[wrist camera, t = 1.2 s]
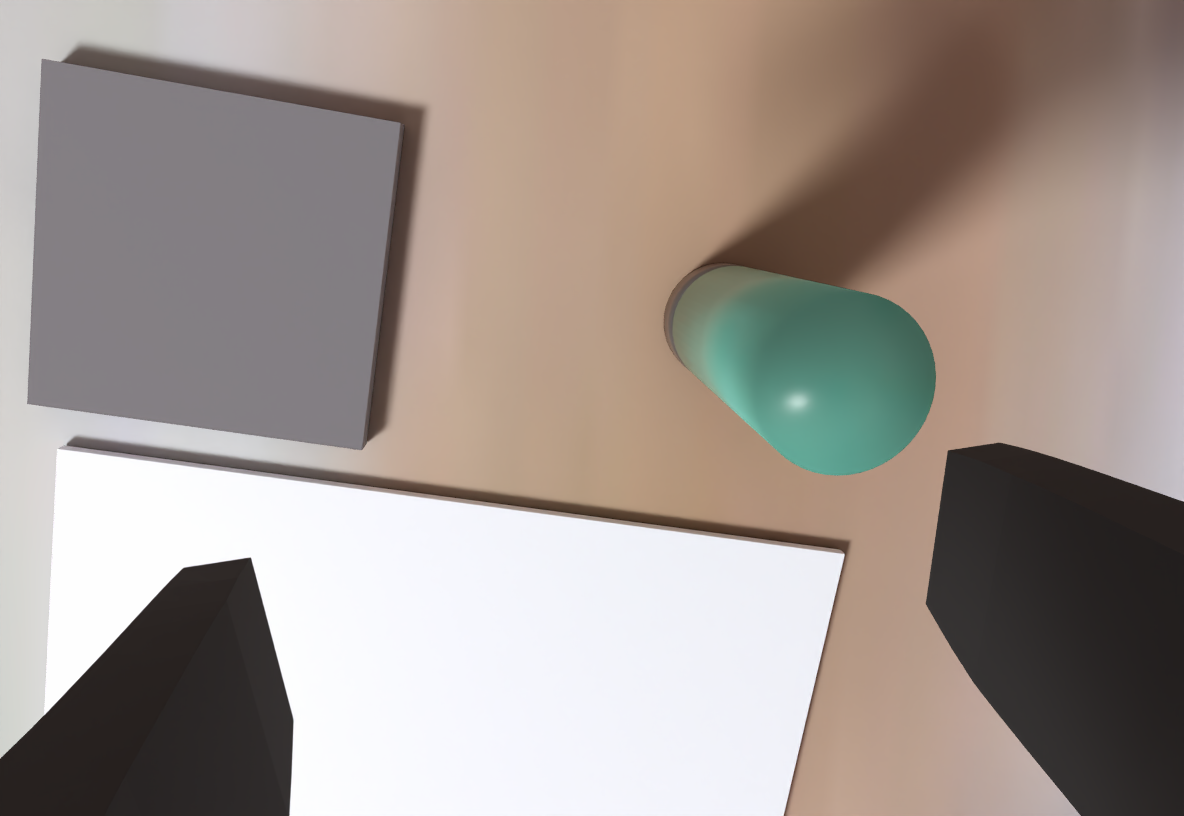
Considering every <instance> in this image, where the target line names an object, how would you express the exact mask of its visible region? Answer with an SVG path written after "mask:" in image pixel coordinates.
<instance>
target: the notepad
mask: <svg viewBox="0 0 1184 816" xmlns="http://www.w3.org/2000/svg"><path fill="white" fill-rule="evenodd" d="M844 556H845V554H844V553H843V552H842V551H841V550H839V549H832V548H824V547H817V546H810V545H802V544H795V543H787V542H780V541H772V540H765V539H757V538H750V537H743V536H735V535H728V534H720V533H713V532H705V531H698V530H690V529H683V528H676V527H668V526H661V525H653V524H646V523H638V522H631V521H623V520H616V519H609V518H601V517H594V516H586V515H579V514H571V513H564V512H556V511H549V510H541V509H534V508H527V507H519V506H512V505H504V504H497V503H489V502H482V501H474V500H467V499H460V498H452V497H445V496H437V495H430V494H422V493H415V492H407V491H400V490H393V489H385V488H378V487H370V486H363V485H355V484H348V483H340V482H333V481H326V480H318V479H311V478H303V477H296V476H288V475H281V474H273V473H266V472H259V471H251V470H244V469H236V468H229V467H221V466H214V465H206V464H199V463H191V462H184V461H177V460H169V459H162V458H154V457H147V456H139V455H132V454H124V453H117V452H110V451H102V450H95V449H87V448H80V447H72V446H65V445H64V446H62V447H60V448H58V449H57V464H56V484H55V504H54V525H53V545H52V566H51V586H50V607H49V627H48V648H47V668H46V689H45V709H44V715H45V714H46V713H47V712H48V711H49V710H50V709H51V708H52V706H53V705H54V704H55V703H56V702H57V701H58V700H59V699H60V698H61V697H62V696H63V695H64V694H65V693H66V692H67V691H68V690H69V689H70V688H71V686H72V685H73V684H74V683H75V682H76V681H77V680H78V679H79V678H80V677H81V676H82V675H83V674H84V673H85V672H86V671H87V670H88V669H89V667H90V666H91V665H92V664H93V663H94V662H95V661H96V660H97V659H98V658H99V657H100V656H101V655H102V654H103V653H104V652H105V651H106V649H107V648H108V647H109V646H110V645H111V644H112V643H113V642H114V641H115V640H116V639H117V638H118V636H119V635H120V634H121V633H122V632H123V631H124V630H125V629H126V628H127V627H128V626H129V624H130V623H131V622H132V621H133V620H134V619H135V618H136V617H137V616H138V615H139V614H140V612H141V611H142V610H143V609H144V608H145V607H146V606H147V605H148V604H149V603H150V602H151V601H152V599H153V598H154V597H155V596H156V595H157V594H158V593H159V592H160V591H161V590H162V589H163V588H164V587H165V586H166V585H167V584H168V582H169V581H170V580H171V579H172V578H173V577H174V576H175V575H176V574H177V573H178V572H179V571H180V570H182V569H183V568H184V567H191V566H197V565H204V564H210V563H217V562H223V561H230V560H236V559H243V558H250V557H251V559H252V563H253V567H254V571H255V574H256V578H257V582H258V586H259V590H260V593H261V597H262V601H263V605H264V609H265V612H266V616H267V620H268V624H269V628H270V632H271V635H272V639H273V643H274V647H275V651H276V654H277V658H278V662H279V666H280V670H281V673H282V677H283V681H284V685H285V689H286V692H287V696H288V700H289V704H290V708H291V711H292V715H293V719H294V725H293V753H292V779H291V797H290V815H289V816H784V812H785V807H786V803H787V799H788V794H789V790H790V786H791V782H792V777H793V773H794V769H795V765H796V760H797V756H798V752H799V748H800V743H801V739H802V735H803V730H804V726H805V722H806V718H807V713H808V709H809V705H810V701H811V696H812V692H813V688H814V684H815V679H816V675H817V671H818V667H819V662H820V658H821V654H822V649H823V645H824V641H825V637H826V632H827V628H828V624H829V620H830V615H831V611H832V607H833V603H834V598H835V594H836V590H837V585H838V581H839V577H840V573H841V568H842V564H843V560H844Z"/></svg>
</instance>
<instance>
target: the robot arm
mask: <svg viewBox="0 0 1184 816" xmlns="http://www.w3.org/2000/svg"><path fill="white" fill-rule="evenodd" d="M926 605H927V607H928V609H929V610H930V612H931V614H932V615H933V617H934V619H935V621H936V622H937V624H938V626H939V628H940V629H941V631H942V633H943V634H944V636H945V638H946V640H947V641H948V643H949V645H950V646H951V648H952V650H953V651H954V653H955V654H956V656H957V657H958V659H959V661H960V662H961V664H962V665H963V667H964V668H965V670H966V672H967V673H968V675H969V676H970V678H971V679H972V681H973V683H974V684H975V685H976V686H977V688H978V689H979V690H980V692H981V693H982V694H983V695H984V697H985V698H986V699H987V701H988V702H989V703H990V704H991V706H992V707H993V708H994V709H995V711H996V712H997V713H998V714H999V716H1000V717H1001V718H1002V719H1003V721H1004V722H1005V723H1006V724H1007V726H1008V727H1009V728H1010V729H1011V731H1012V732H1013V733H1014V734H1015V736H1016V737H1017V738H1018V739H1019V741H1020V742H1021V743H1022V744H1023V746H1024V747H1025V748H1026V749H1027V750H1028V752H1029V753H1030V754H1031V755H1032V757H1033V758H1034V759H1035V760H1036V761H1037V763H1038V764H1039V765H1040V766H1041V767H1042V769H1043V770H1044V771H1045V772H1046V774H1047V775H1048V776H1049V777H1050V778H1051V780H1052V781H1053V782H1054V783H1055V785H1056V786H1057V787H1058V788H1059V789H1060V791H1061V792H1062V793H1063V794H1064V796H1065V797H1066V798H1067V799H1068V800H1069V802H1070V803H1071V804H1072V805H1073V807H1074V808H1075V809H1076V810H1077V811H1078V813H1079V814H1080V815H1081V816H1184V502H1183V501H1180V500H1177V499H1174V498H1171V497H1168V496H1165V495H1163V494H1160V493H1157V492H1154V491H1151V490H1148V489H1146V488H1143V487H1140V486H1137V485H1134V484H1131V483H1128V482H1125V481H1123V480H1120V479H1117V478H1114V477H1111V476H1108V475H1105V474H1103V473H1100V472H1097V471H1094V470H1091V469H1088V468H1085V467H1082V466H1079V465H1076V464H1073V463H1070V462H1067V461H1064V460H1061V459H1058V458H1054V457H1051V456H1048V455H1045V454H1041V453H1038V452H1035V451H1031V450H1027V449H1024V448H1020V447H1016V446H1012V445H1007V444H1003V443H994V444H988V445H981V446H975V447H968V448H962V449H955V450H948V454H947V461H946V468H945V475H944V482H943V489H942V496H941V502H940V509H939V516H938V523H937V530H936V537H935V544H934V551H933V558H932V565H931V572H930V579H929V586H928V593H927V600H926ZM293 725H294V719H293V715H292V711H291V708H290V704H289V700H288V696H287V692H286V689H285V685H284V681H283V677H282V673H281V670H280V666H279V662H278V658H277V654H276V651H275V647H274V643H273V639H272V635H271V632H270V628H269V624H268V620H267V616H266V612H265V609H264V605H263V601H262V597H261V593H260V590H259V586H258V582H257V578H256V574H255V571H254V567H253V563H252V559H251V557H250V558H243V559H236V560H230V561H223V562H217V563H210V564H204V565H197V566H191V567H184V568H183V569H182V570H180V571H179V572H178V573H177V574H176V575H175V576H174V577H173V578H172V579H171V580H170V581H169V582H168V584H167V585H166V586H165V587H164V588H163V589H162V590H161V591H160V592H159V593H158V594H157V595H156V596H155V597H154V598H153V599H152V601H151V602H150V603H149V604H148V605H147V606H146V607H145V608H144V609H143V610H142V611H141V612H140V614H139V615H138V616H137V617H136V618H135V619H134V620H133V621H132V622H131V623H130V624H129V626H128V627H127V628H126V629H125V630H124V631H123V632H122V633H121V634H120V635H119V636H118V638H117V639H116V640H115V641H114V642H113V643H112V644H111V645H110V646H109V647H108V648H107V649H106V651H105V652H104V653H103V654H102V655H101V656H100V657H99V658H98V659H97V660H96V661H95V662H94V663H93V664H92V665H91V666H90V667H89V669H88V670H87V671H86V672H85V673H84V674H83V675H82V676H81V677H80V678H79V679H78V680H77V681H76V682H75V683H74V684H73V685H72V686H71V688H70V689H69V690H68V691H67V692H66V693H65V694H64V695H63V696H62V697H61V698H60V699H59V700H58V701H57V702H56V703H55V704H54V705H53V706H52V708H51V709H50V710H49V711H48V712H47V713H46V714H45V715H44V716H43V717H42V718H41V719H40V720H39V721H38V722H37V723H36V724H35V725H34V726H33V727H32V728H31V729H30V730H29V731H28V732H27V733H26V734H25V735H24V736H23V737H22V738H21V739H20V740H19V741H18V742H17V743H16V744H15V745H14V746H13V747H12V748H11V749H10V750H9V751H8V752H7V753H6V754H5V755H4V756H3V757H1V758H0V816H289V815H290V797H291V779H292V753H293Z"/></svg>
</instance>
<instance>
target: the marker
mask: <svg viewBox="0 0 1184 816" xmlns="http://www.w3.org/2000/svg"><path fill="white" fill-rule="evenodd" d="M664 331H665V336H666V340H667V343H668V345H669V347H670V349H671V351H672V352H673V354H674V355H675V357H676V358H677V359H678V360H679V361H680V362H681V363H682V364H683V365H684V366H685V367H686V368H687V369H688V370H690V371H691V372H692V373H693V374H694V375H695V376H696V377H697V378H698V379H699V380H700V381H702V382H703V383H704V384H705V385H706V386H707V387H708V388H709V389H710V390H711V391H713V392H714V393H715V394H716V395H717V396H718V397H719V398H720V399H721V400H722V401H723V402H725V403H726V404H727V405H728V406H729V407H730V408H731V409H732V410H733V411H734V412H735V413H737V414H738V415H739V416H740V417H741V418H742V419H743V420H744V421H745V422H746V423H748V424H749V425H750V426H751V427H752V428H753V429H754V430H755V431H756V432H757V433H758V434H760V435H761V436H762V437H763V438H764V439H765V440H766V441H767V442H768V443H769V444H770V445H772V446H773V447H774V448H775V449H776V450H777V451H778V452H779V453H780V454H781V455H783V456H784V457H785V458H786V459H788V460H789V461H791V462H792V463H794V464H796V465H798V466H799V467H801V468H803V469H806V470H809V471H812V472H815V473H820V474H825V475H850V474H856V473H861V472H864V471H867V470H870V469H873V468H875V467H877V466H879V465H882V464H883V463H885V462H887V461H888V460H890V459H892V458H893V457H894V456H896V455H897V454H898V453H899V452H901V451H902V450H903V449H904V448H905V447H906V446H907V445H908V444H909V443H910V442H911V441H912V439H913V438H914V437H915V436H916V434H917V433H918V432H919V430H920V428H921V427H922V425H923V423H924V422H925V420H926V417H927V415H928V413H929V411H930V407H931V404H932V401H933V397H934V391H935V382H936V371H935V362H934V357H933V353H932V350H931V347H930V344H929V341H928V339H927V337H926V336H925V334H924V332H923V330H922V329H921V327H920V326H919V325H918V323H917V322H916V321H915V320H914V319H913V318H912V317H911V316H910V315H909V313H907V312H906V311H905V310H904V309H902V308H901V307H900V306H898V305H896V304H895V303H893V302H891V301H889V300H887V299H885V298H882V297H880V296H877V295H872V294H868V293H864V292H859V291H855V290H850V289H846V288H841V287H836V286H832V285H827V284H823V283H818V282H813V281H809V280H804V279H799V278H795V277H790V276H786V275H781V274H776V273H772V272H767V271H763V270H758V269H753V268H749V267H744V266H740V265H735V264H729V263H715V264H709V265H706V266H703V267H700V268H698V269H696V270H694V271H693V272H691V273H689V274H688V275H687V276H686V277H684V278H683V279H682V280H681V281H680V282H679V283H678V284H677V286H676V287H675V289H674V290H673V292H672V293H671V295H670V297H669V299H668V302H667V305H666V309H665V313H664Z"/></svg>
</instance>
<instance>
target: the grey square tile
mask: <svg viewBox="0 0 1184 816" xmlns="http://www.w3.org/2000/svg"><path fill="white" fill-rule="evenodd" d="M403 134H404V125H403V124H401V123H399V122H393V121H388V120H382V119H376V118H371V117H365V116H360V115H354V114H348V113H343V112H337V111H332V110H326V109H320V108H315V107H309V106H304V105H298V104H292V103H287V102H281V101H276V100H270V99H264V98H259V97H253V96H248V95H242V94H236V93H231V92H225V91H220V90H214V89H208V88H203V87H197V86H192V85H186V84H180V83H175V82H169V81H164V80H158V79H152V78H147V77H141V76H136V75H130V74H124V73H119V72H113V71H108V70H102V69H96V68H91V67H85V66H80V65H74V64H68V63H63V62H57V61H51V60H46V59H42V64H41V88H40V113H39V137H38V161H37V185H36V209H35V233H34V257H33V281H32V305H31V329H30V353H29V377H28V401H27V404H32V405H39V406H46V407H54V408H61V409H68V410H75V411H83V412H90V413H97V414H104V415H111V416H119V417H126V418H133V419H140V420H148V421H155V422H162V423H169V424H176V425H184V426H191V427H198V428H205V429H213V430H220V431H227V432H234V433H241V434H249V435H256V436H263V437H270V438H278V439H285V440H292V441H299V442H306V443H314V444H321V445H328V446H335V447H343V448H350V449H357V450H362V449H363V448H364V446H365V445H366V443H367V435H368V427H369V419H370V410H371V402H372V393H373V385H374V377H375V368H376V360H377V352H378V343H379V335H380V326H381V318H382V310H383V301H384V293H385V284H386V276H387V268H388V259H389V251H390V243H391V234H392V226H393V217H394V209H395V201H396V192H397V184H398V176H399V167H400V159H401V150H402V142H403Z"/></svg>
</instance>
